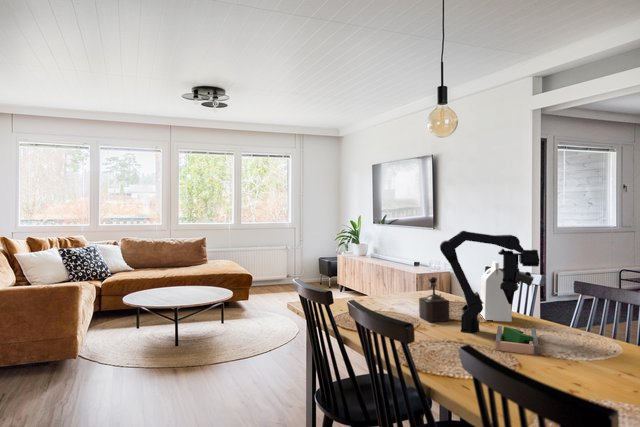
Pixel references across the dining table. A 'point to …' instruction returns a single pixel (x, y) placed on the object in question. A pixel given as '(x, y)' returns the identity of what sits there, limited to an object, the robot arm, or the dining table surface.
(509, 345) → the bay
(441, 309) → the dark brown stamp
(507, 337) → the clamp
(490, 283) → the milk
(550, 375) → the dining table surface
